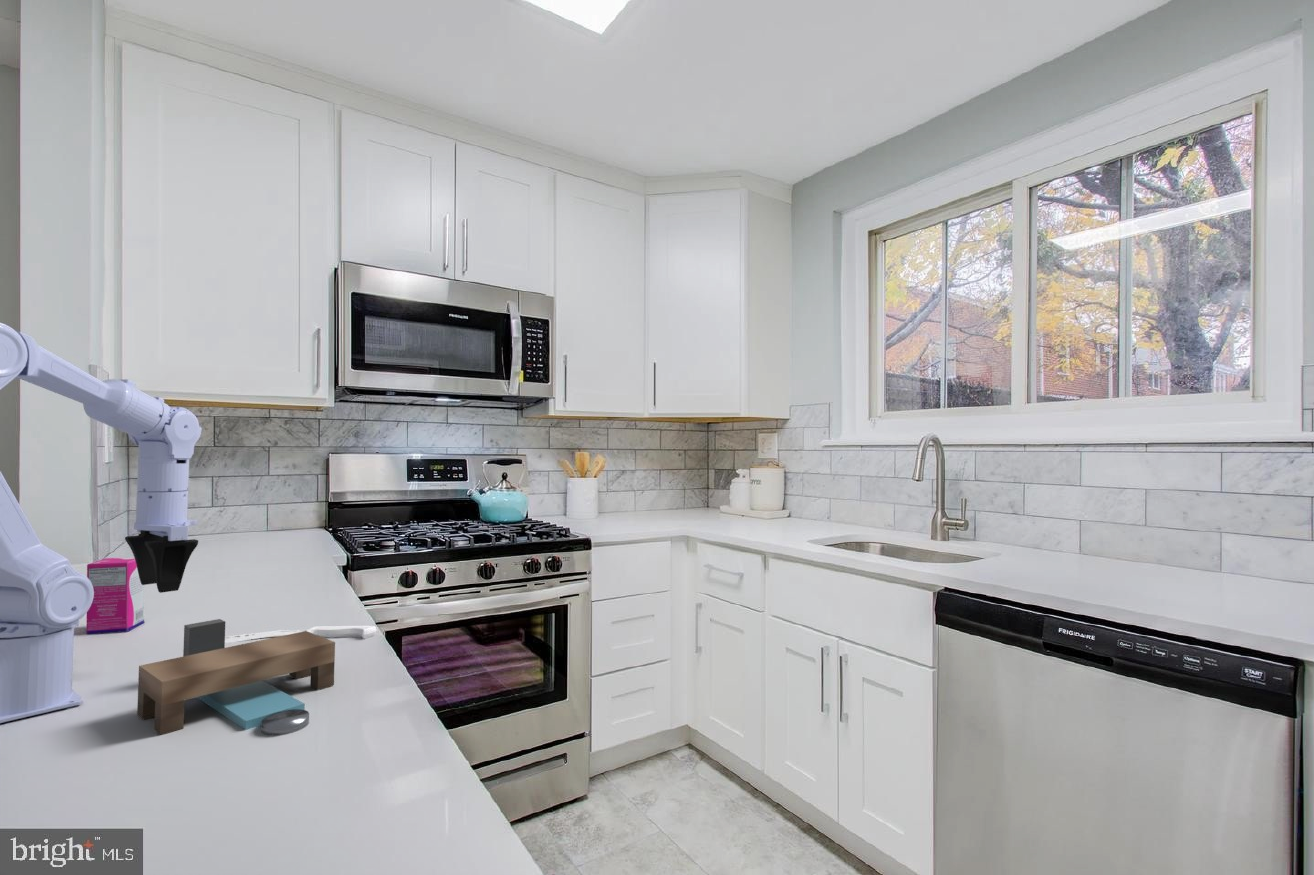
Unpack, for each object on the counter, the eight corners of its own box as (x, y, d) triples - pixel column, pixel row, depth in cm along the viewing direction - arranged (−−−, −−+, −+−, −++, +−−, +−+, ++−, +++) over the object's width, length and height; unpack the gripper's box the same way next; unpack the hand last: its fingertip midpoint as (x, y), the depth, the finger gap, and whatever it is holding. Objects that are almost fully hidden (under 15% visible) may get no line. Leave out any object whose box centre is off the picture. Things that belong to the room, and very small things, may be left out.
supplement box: (103, 625, 105) (105, 557, 106) (145, 622, 107) (147, 556, 107) (83, 634, 100) (86, 562, 100) (128, 632, 101) (130, 561, 102)
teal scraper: (245, 730, 67) (248, 664, 67) (173, 681, 81) (175, 626, 81) (304, 712, 72) (306, 651, 72) (226, 668, 85) (228, 617, 86)
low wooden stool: (160, 734, 65) (162, 682, 66) (137, 714, 70) (138, 665, 70) (333, 685, 80) (335, 642, 80) (304, 671, 85) (306, 630, 85)
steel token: (281, 741, 65) (281, 729, 65) (250, 733, 67) (251, 722, 67) (318, 723, 69) (318, 713, 69) (288, 717, 71) (289, 706, 71)
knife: (159, 642, 95) (197, 627, 103) (159, 653, 95) (197, 637, 103) (354, 639, 95) (378, 624, 103) (354, 650, 95) (378, 634, 103)
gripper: (215, 492, 87) (211, 589, 87) (179, 487, 96) (176, 576, 95) (152, 494, 82) (148, 598, 81) (120, 489, 90) (116, 583, 90)
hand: (159, 587), depth 88 cm, fingers open, 7 cm apart
